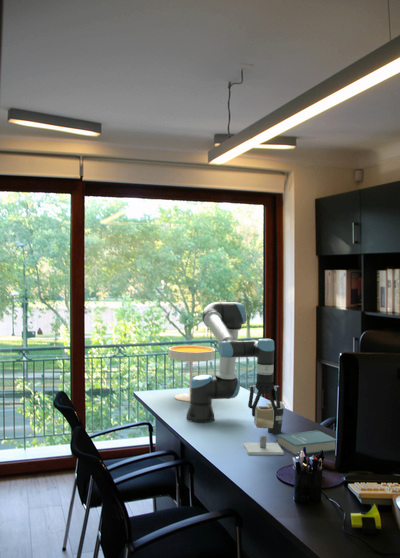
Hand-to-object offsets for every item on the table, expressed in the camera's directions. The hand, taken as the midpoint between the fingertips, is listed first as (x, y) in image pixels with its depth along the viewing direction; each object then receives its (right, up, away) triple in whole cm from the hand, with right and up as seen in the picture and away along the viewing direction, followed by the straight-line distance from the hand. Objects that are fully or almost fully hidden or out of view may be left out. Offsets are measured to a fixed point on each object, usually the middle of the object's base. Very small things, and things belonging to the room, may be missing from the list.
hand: (263, 423), depth 244 cm
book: (+21, -13, +6) cm, 25 cm away
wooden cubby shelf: (0, -1, 0) cm, 1 cm away
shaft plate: (0, -12, 0) cm, 12 cm away
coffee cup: (+9, -12, +28) cm, 32 cm away
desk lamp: (-35, -10, +95) cm, 102 cm away
